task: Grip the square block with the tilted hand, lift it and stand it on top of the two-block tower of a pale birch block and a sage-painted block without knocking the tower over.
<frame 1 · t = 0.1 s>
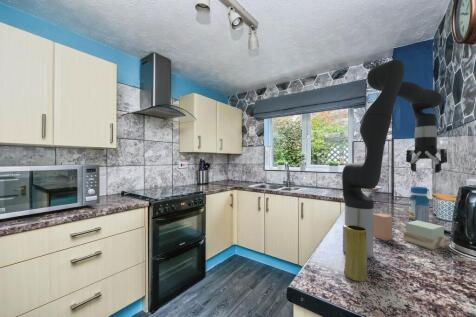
hand: (425, 172, 93), 29 cm above the countertop, fingers open, 8 cm apart
tower base: (424, 243, 85), on the countertop, touching tower top
tower top: (424, 234, 85), point 4 cm above the countertop, touching tower base
square block: (382, 237, 90), on the countertop
beverage bottle: (418, 224, 110), on the countertop
vase: (355, 276, 60), on the countertop
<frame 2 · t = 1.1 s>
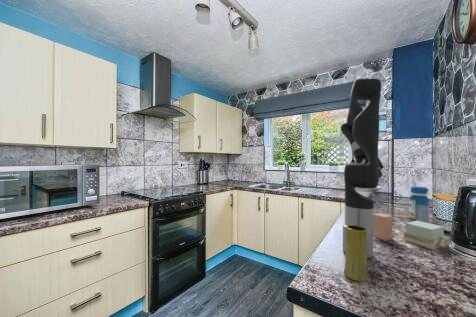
hand: (371, 177, 101), 26 cm above the countertop, fingers open, 8 cm apart
nothing on the countertop moved.
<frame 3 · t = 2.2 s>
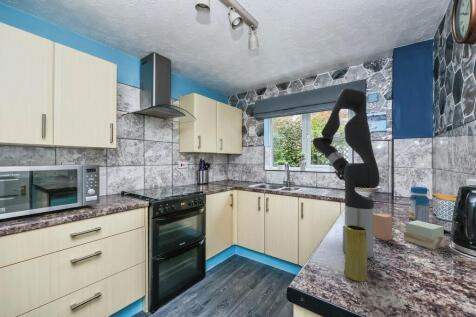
hand: (357, 185, 102), 22 cm above the countertop, fingers open, 8 cm apart
nothing on the countertop moved.
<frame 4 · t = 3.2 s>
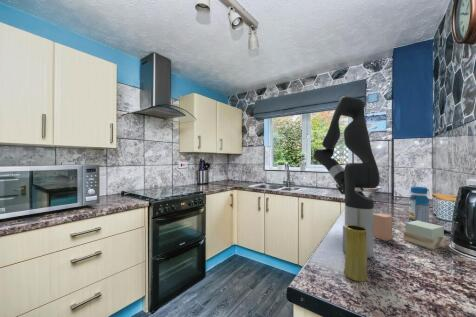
hand: (359, 199, 101), 15 cm above the countertop, fingers open, 8 cm apart
nothing on the countertop moved.
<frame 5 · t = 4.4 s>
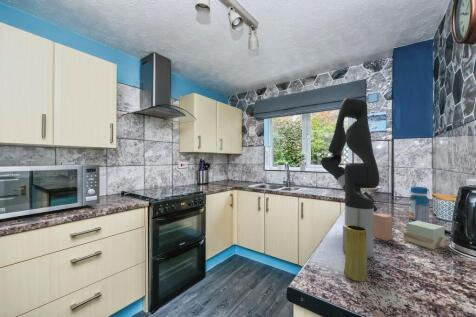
hand: (370, 211, 96), 10 cm above the countertop, fingers open, 8 cm apart
tower base: (424, 243, 85), on the countertop
tower top: (424, 234, 85), point 4 cm above the countertop
everything else where it was.
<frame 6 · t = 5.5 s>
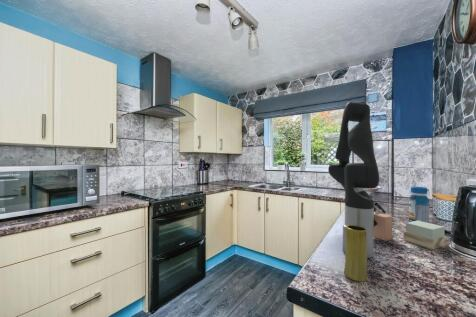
hand: (381, 224, 91), 6 cm above the countertop, fingers open, 8 cm apart
tower base: (424, 243, 85), on the countertop, touching tower top
tower top: (424, 234, 85), point 4 cm above the countertop, touching tower base
everything else where it was.
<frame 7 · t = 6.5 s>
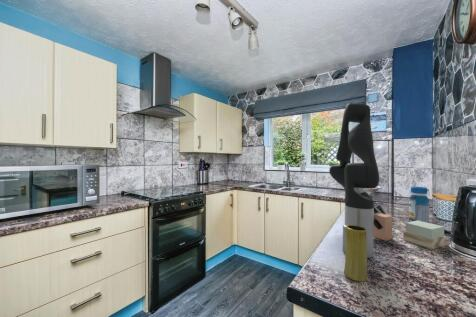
hand: (384, 227, 90), 5 cm above the countertop, fingers closed on square block, 5 cm apart
square block: (382, 237, 90), on the countertop, touching gripper
everything else where it was.
when the fingers open (13 cm above the countertop, at t = 12.8 s): square block drops 1 cm, resting on tower top.
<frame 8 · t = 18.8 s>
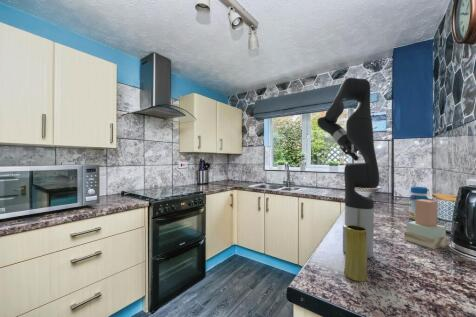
hand: (363, 159, 101), 35 cm above the countertop, fingers open, 8 cm apart
tower base: (425, 243, 86), on the countertop
tower top: (425, 233, 86), point 4 cm above the countertop, touching square block
square block: (425, 224, 86), point 8 cm above the countertop, touching tower top
everything else where it was.
at the end: square block 0.2 cm off-centre on the tower base, point 8.0 cm above the tower base's base; square block tilted 1°; tower top 0.1 cm from the tower base (horizontally) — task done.
